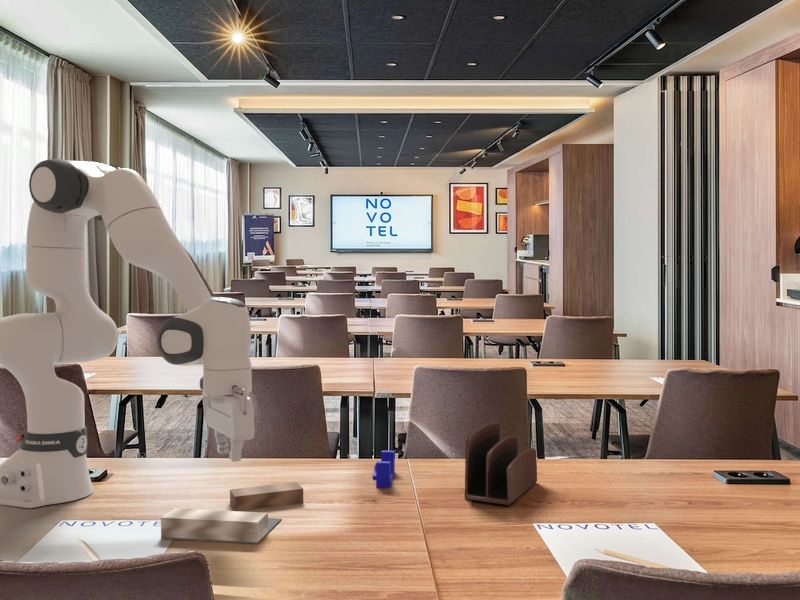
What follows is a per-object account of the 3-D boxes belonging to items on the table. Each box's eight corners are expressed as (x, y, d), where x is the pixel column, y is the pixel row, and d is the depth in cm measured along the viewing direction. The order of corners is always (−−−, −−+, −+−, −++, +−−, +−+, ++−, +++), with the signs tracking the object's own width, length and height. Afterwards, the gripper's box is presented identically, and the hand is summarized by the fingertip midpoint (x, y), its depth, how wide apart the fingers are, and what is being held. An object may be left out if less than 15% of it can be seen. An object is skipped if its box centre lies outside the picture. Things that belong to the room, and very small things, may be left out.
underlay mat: (161, 538, 130) (161, 537, 130) (193, 515, 143) (193, 514, 143) (257, 543, 127) (257, 542, 127) (281, 520, 140) (281, 518, 140)
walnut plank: (235, 514, 145) (234, 496, 145) (230, 506, 150) (229, 489, 150) (303, 505, 151) (303, 488, 151) (296, 498, 156) (296, 481, 156)
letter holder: (464, 500, 153) (463, 433, 153) (496, 477, 171) (496, 417, 170) (509, 506, 149) (509, 437, 148) (537, 482, 166) (537, 420, 166)
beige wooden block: (161, 537, 130) (160, 517, 130) (175, 527, 135) (175, 508, 135) (257, 542, 127) (257, 522, 127) (267, 531, 133) (267, 512, 132)
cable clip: (375, 475, 173) (375, 450, 173) (394, 475, 173) (394, 450, 173) (369, 489, 161) (369, 462, 161) (389, 490, 161) (389, 463, 161)
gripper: (262, 388, 130) (263, 465, 130) (228, 377, 147) (229, 445, 148) (227, 390, 126) (229, 470, 127) (196, 379, 144) (198, 449, 144)
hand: (229, 456), depth 137 cm, fingers open, 6 cm apart
